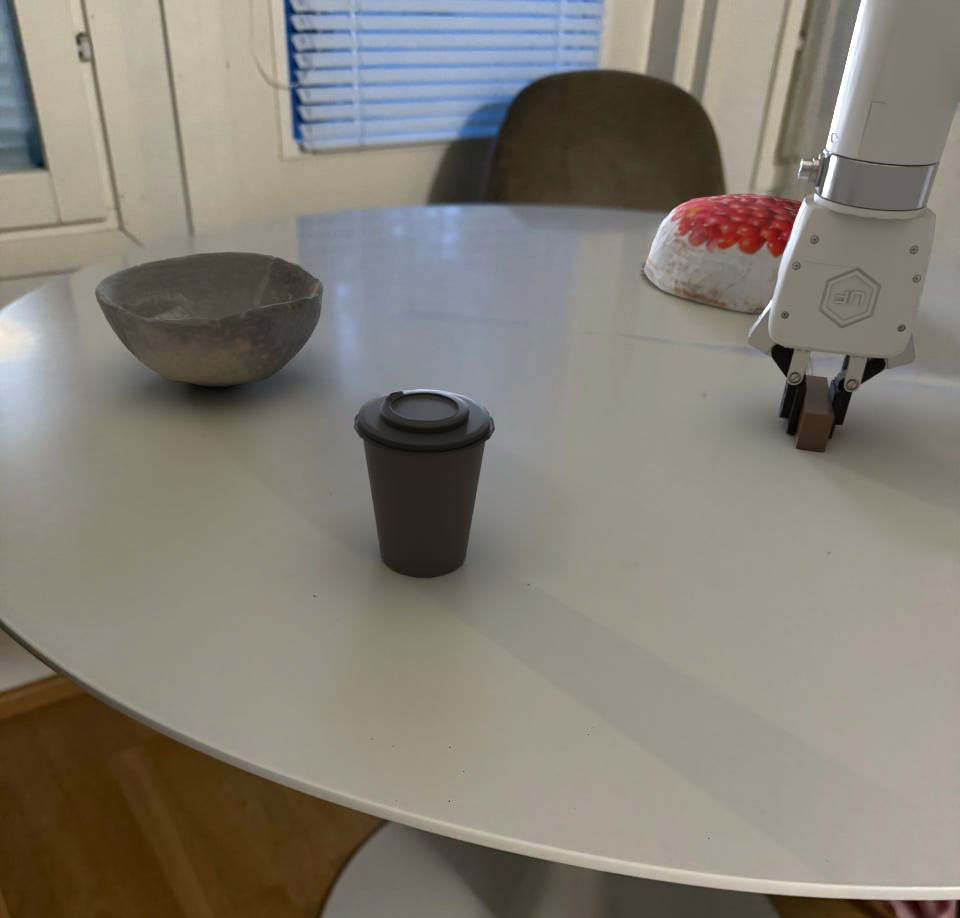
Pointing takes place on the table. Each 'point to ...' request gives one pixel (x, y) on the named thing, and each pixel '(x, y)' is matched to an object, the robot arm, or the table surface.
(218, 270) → the bowl
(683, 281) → the cake
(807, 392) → the knife
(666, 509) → the table surface
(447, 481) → the coffee cup
